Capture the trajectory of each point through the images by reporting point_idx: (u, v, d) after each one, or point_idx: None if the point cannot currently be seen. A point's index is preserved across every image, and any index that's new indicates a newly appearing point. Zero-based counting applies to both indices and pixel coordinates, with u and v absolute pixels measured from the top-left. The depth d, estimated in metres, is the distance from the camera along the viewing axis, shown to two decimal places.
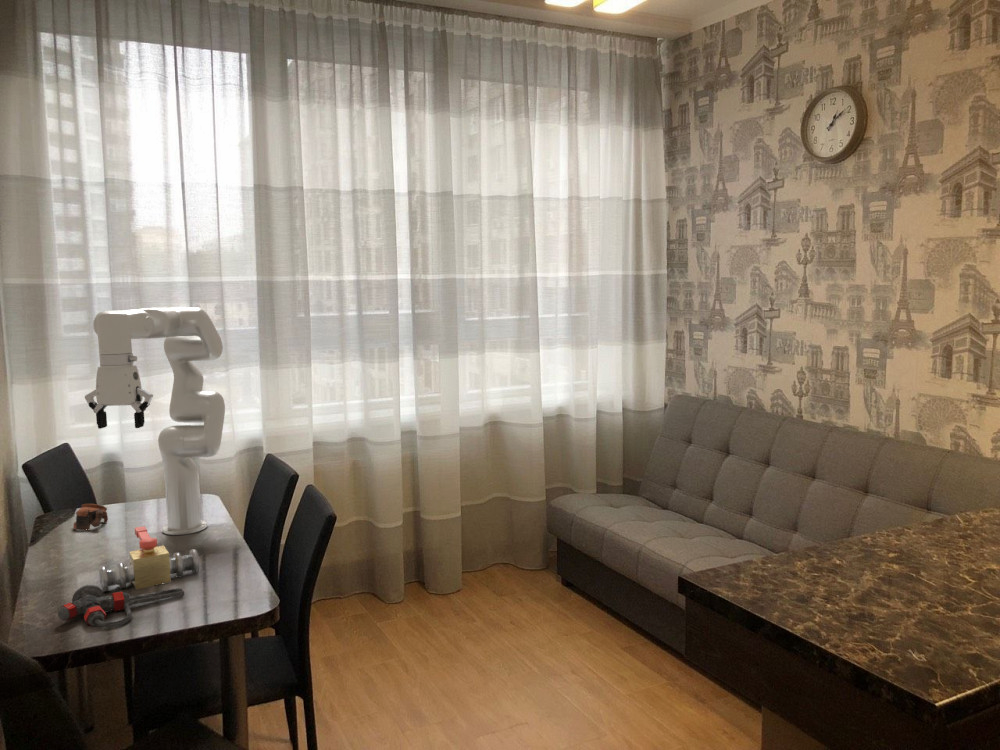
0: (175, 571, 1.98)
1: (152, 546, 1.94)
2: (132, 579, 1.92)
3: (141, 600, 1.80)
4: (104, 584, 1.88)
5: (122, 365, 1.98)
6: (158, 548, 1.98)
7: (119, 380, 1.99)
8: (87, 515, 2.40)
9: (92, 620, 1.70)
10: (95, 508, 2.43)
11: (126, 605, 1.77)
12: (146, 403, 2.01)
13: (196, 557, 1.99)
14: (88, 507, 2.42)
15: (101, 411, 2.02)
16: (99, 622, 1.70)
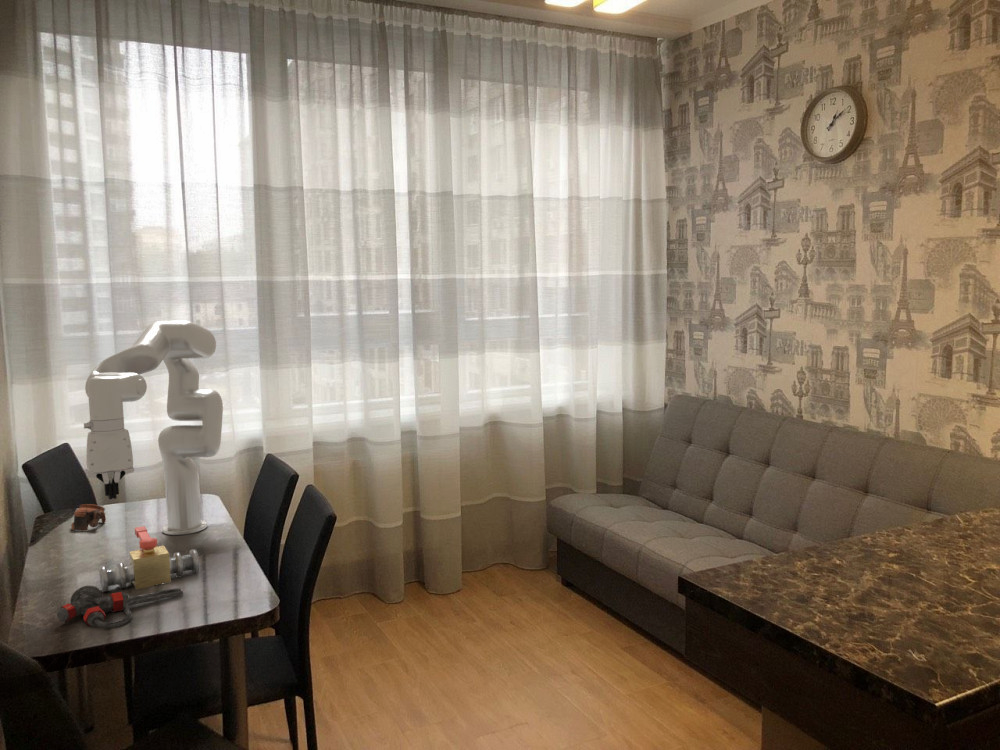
0: (175, 571, 1.98)
1: (152, 546, 1.94)
2: (132, 579, 1.92)
3: (140, 600, 1.80)
4: (104, 584, 1.88)
5: None
6: (158, 548, 1.98)
7: None
8: (85, 515, 2.40)
9: (92, 621, 1.70)
10: (93, 508, 2.42)
11: (125, 605, 1.77)
12: None
13: (196, 557, 1.99)
14: (86, 507, 2.42)
15: (112, 481, 1.99)
16: (99, 622, 1.69)
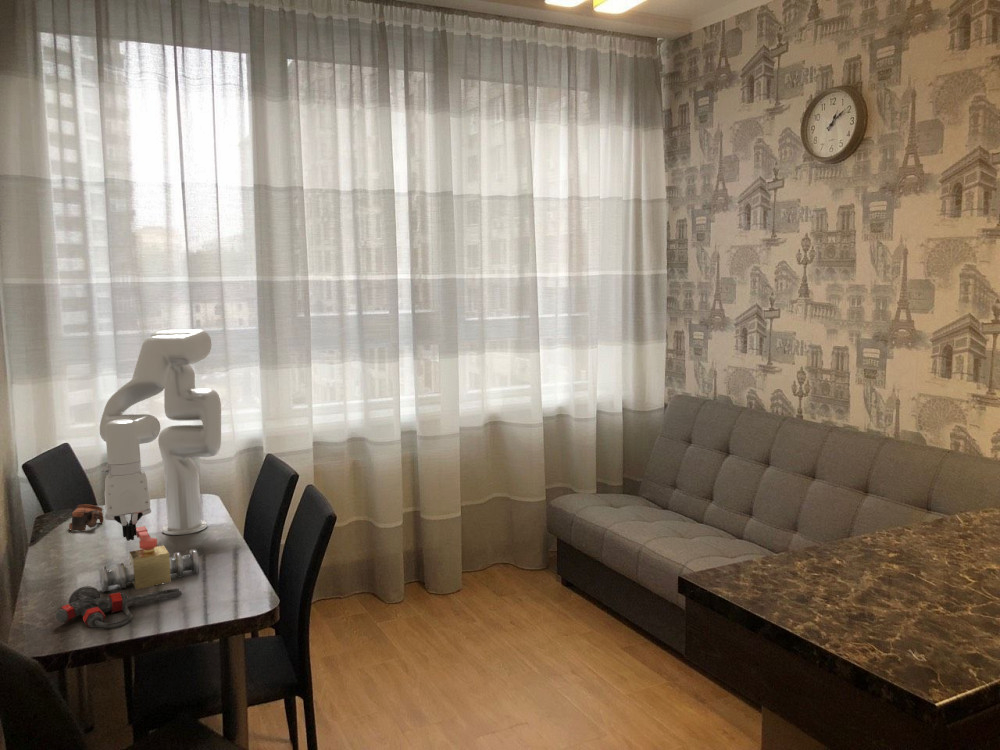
0: (175, 571, 1.98)
1: (152, 546, 1.94)
2: (132, 579, 1.92)
3: (139, 601, 1.80)
4: (104, 584, 1.88)
5: None
6: (158, 548, 1.98)
7: None
8: (83, 516, 2.40)
9: (91, 621, 1.70)
10: (91, 509, 2.42)
11: (124, 606, 1.77)
12: None
13: (196, 557, 1.99)
14: (84, 507, 2.42)
15: (129, 522, 2.02)
16: (99, 623, 1.69)
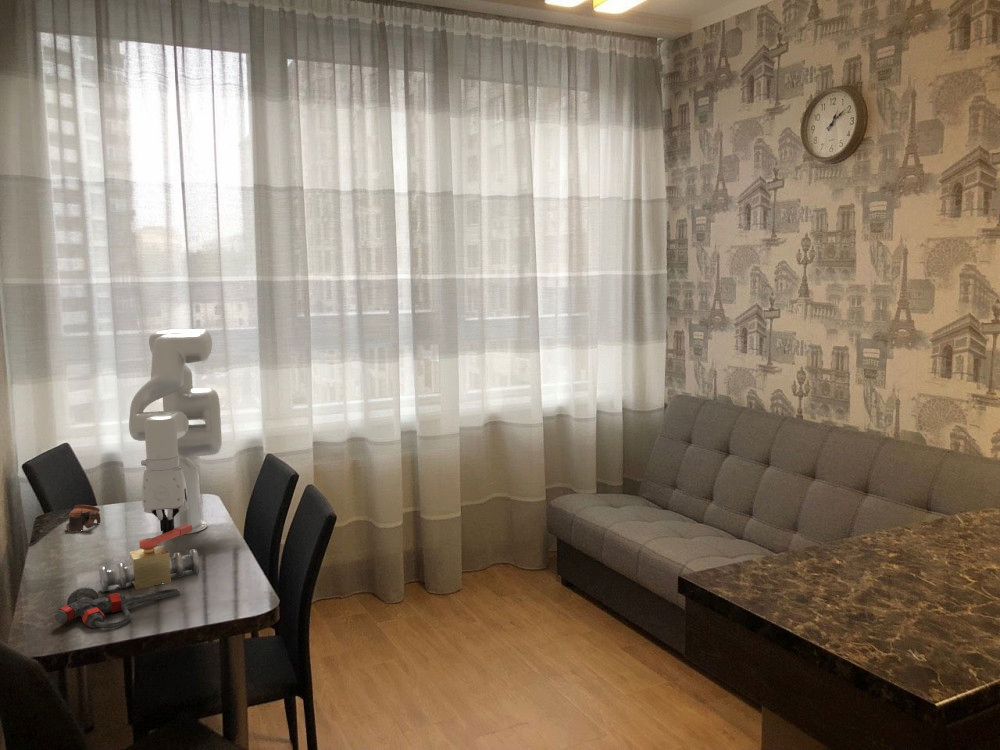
0: (175, 571, 1.98)
1: (144, 547, 1.93)
2: (132, 579, 1.92)
3: (138, 601, 1.80)
4: (104, 584, 1.88)
5: None
6: (158, 548, 1.98)
7: None
8: (80, 516, 2.39)
9: (91, 622, 1.69)
10: (88, 509, 2.42)
11: (123, 606, 1.77)
12: None
13: (196, 557, 1.99)
14: (81, 508, 2.41)
15: None
16: (99, 623, 1.69)
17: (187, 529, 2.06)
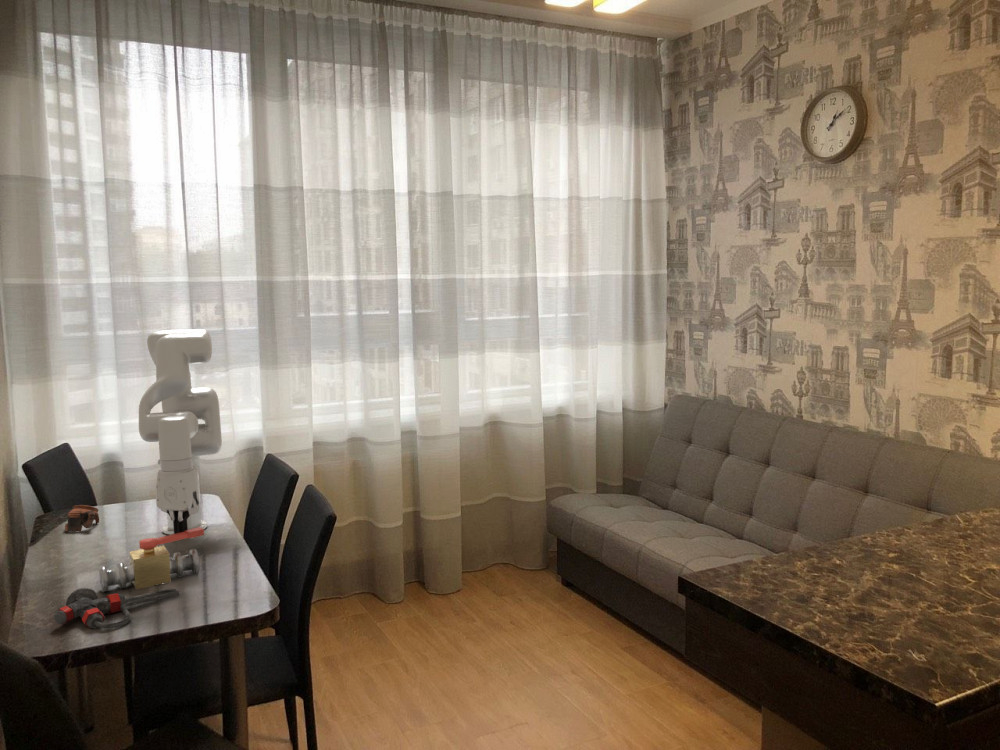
0: (175, 571, 1.98)
1: (141, 547, 1.94)
2: (132, 579, 1.92)
3: (137, 601, 1.80)
4: (104, 584, 1.88)
5: None
6: (158, 548, 1.98)
7: None
8: (79, 516, 2.39)
9: (91, 622, 1.69)
10: (87, 509, 2.41)
11: (123, 606, 1.76)
12: None
13: (196, 557, 1.99)
14: (80, 508, 2.41)
15: None
16: (99, 624, 1.69)
17: (197, 533, 2.03)
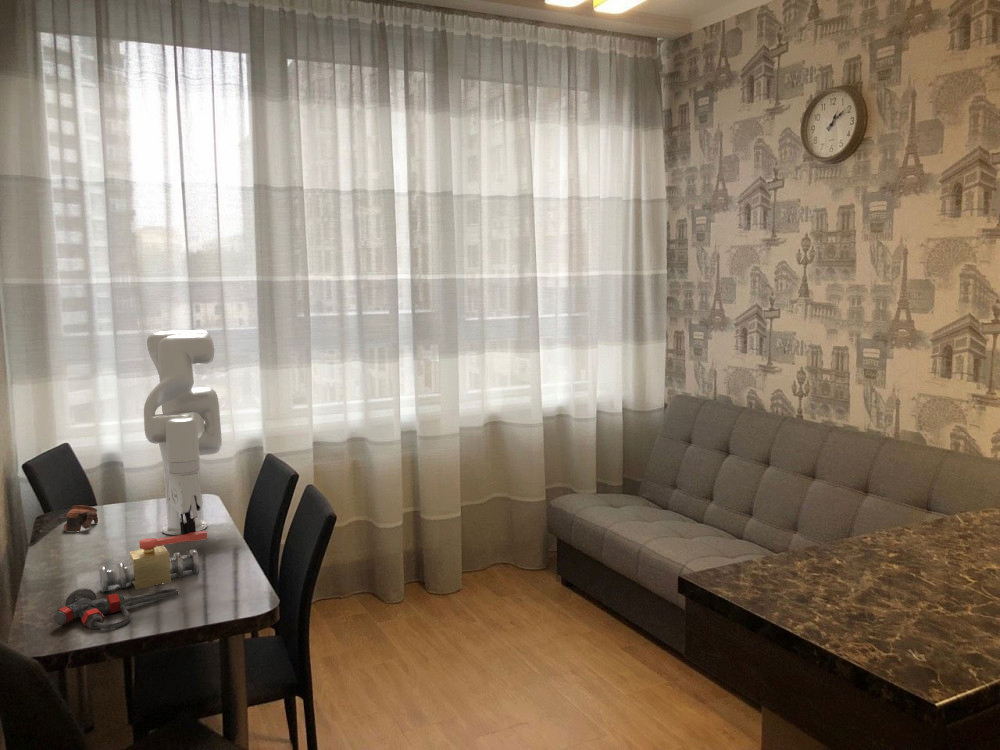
0: (175, 571, 1.98)
1: (140, 546, 1.94)
2: (132, 579, 1.92)
3: (136, 601, 1.80)
4: (104, 584, 1.88)
5: None
6: (158, 548, 1.98)
7: None
8: (78, 517, 2.39)
9: (91, 623, 1.69)
10: (86, 509, 2.41)
11: (123, 607, 1.76)
12: None
13: (196, 557, 1.99)
14: (78, 508, 2.41)
15: None
16: (99, 624, 1.68)
17: (200, 536, 2.00)
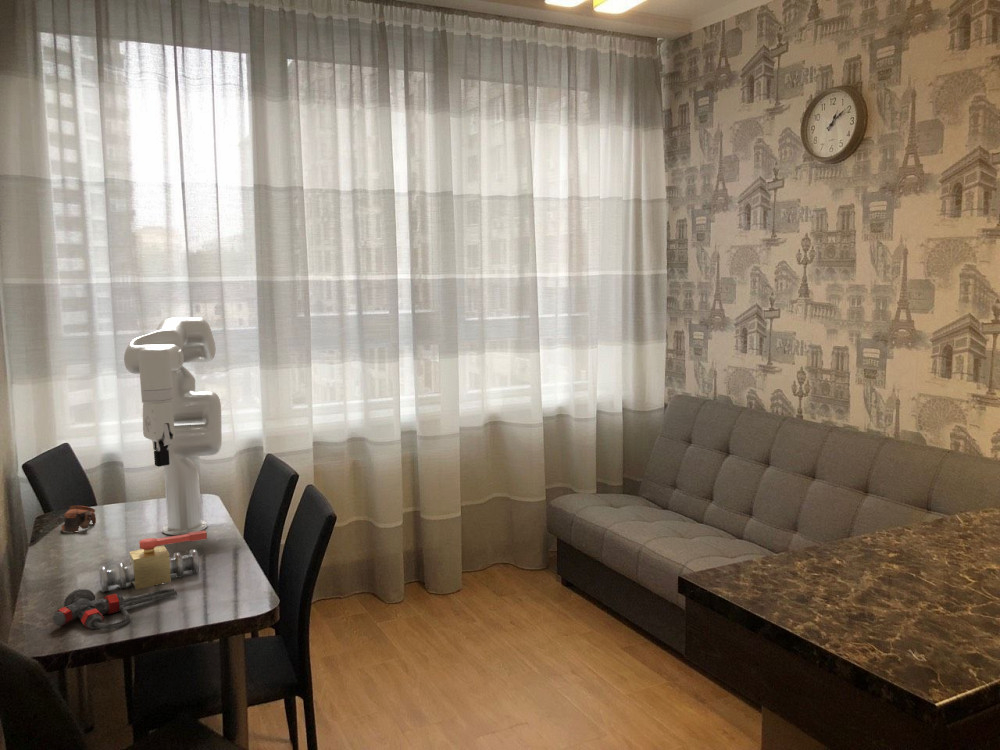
0: (175, 571, 1.98)
1: (140, 546, 1.94)
2: (132, 579, 1.92)
3: (135, 601, 1.80)
4: (104, 584, 1.88)
5: None
6: (158, 548, 1.98)
7: None
8: (76, 517, 2.39)
9: (91, 623, 1.69)
10: (83, 510, 2.41)
11: (122, 607, 1.76)
12: None
13: (196, 557, 1.99)
14: (76, 509, 2.41)
15: None
16: (99, 624, 1.68)
17: (200, 536, 2.00)
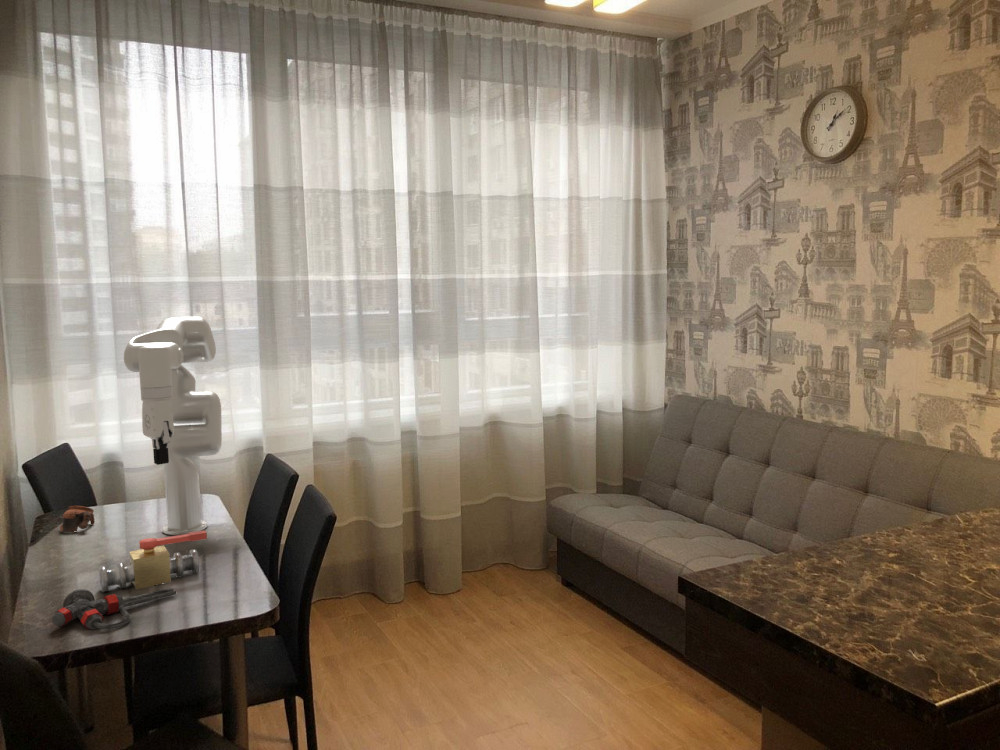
0: (175, 571, 1.98)
1: (140, 546, 1.94)
2: (132, 579, 1.92)
3: (135, 602, 1.79)
4: (104, 584, 1.88)
5: None
6: (158, 548, 1.98)
7: None
8: (74, 517, 2.38)
9: (91, 623, 1.69)
10: (82, 510, 2.41)
11: (121, 607, 1.76)
12: None
13: (196, 557, 1.99)
14: (75, 509, 2.40)
15: None
16: (99, 625, 1.68)
17: (200, 536, 2.00)
